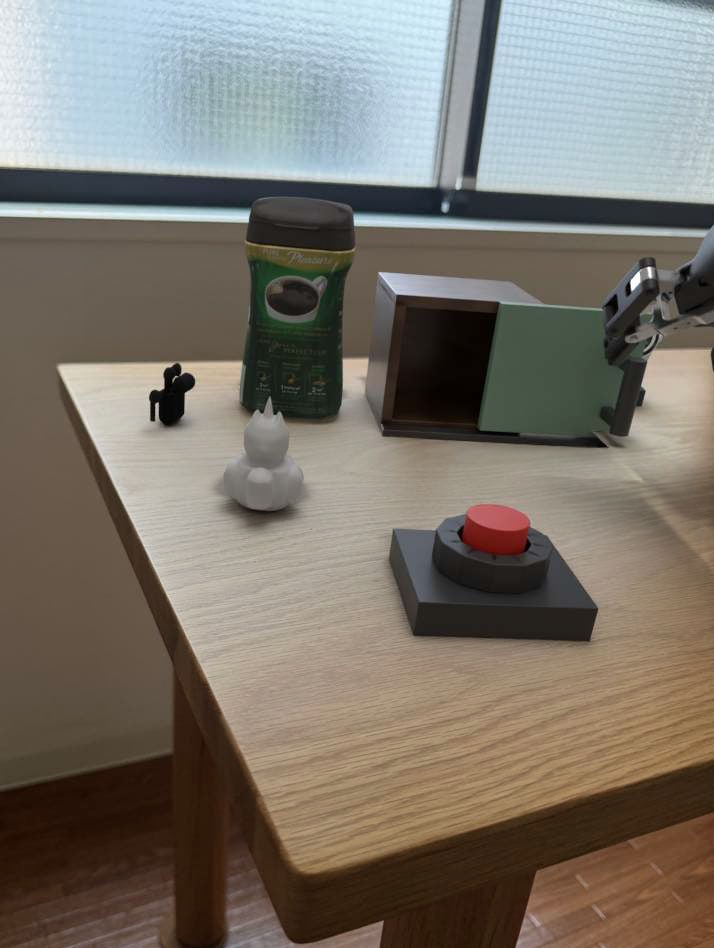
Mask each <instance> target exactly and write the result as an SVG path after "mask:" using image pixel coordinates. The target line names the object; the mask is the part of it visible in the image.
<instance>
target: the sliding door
mask: <svg viewBox="0 0 714 948" xmlns="http://www.w3.org/2000/svg"><path fill="white" fill-rule="evenodd" d="M544 304H545V303H544ZM544 304H529V303H515V302H501V301H500V303H499V308H498V314H497V319H496V325H495V331H494V336H493V342H492V348H491V353H490V359H489V364H488V370H487V376H486V381H485V387H484V392H483V398H482V404H481V409H480V415H479V421H478V426H477V427H478V428H479V430H480V431H497V432H515V433H533V434H551V435H569V436H587V437H598V435H597V434H595V433H594V432H603V433H604V432H605V433H609V434H610V435H612V436H615V437H620V438H626V437H629V434H630V431H631V426H632V424H633V423H632V422H633V420H634V415H635V412H636V407H637V406H636V404H637V400H638V396H639V392H640V389H641V387H642V385H643V381H644V377H645V373H646V370H647V365H648V361H649V360H648V361H647V360H645V359H642V356H643V352H644V348H645V344H646V341H647V338H646V339H644V340H641V341H639V345H638V346H637V347H636V348H635V349H634V350H633V351H632V352H631V354H630V355H629V356H628V357H627V358H626V359H625V360H624V361H623V363H622V364H621V365H620V366H609V365H608V359H605V354H604V345H603V341H604V338H605V337H606V335H605V329H604V320H603V310H602V308H599V307H598V308H597V307H585V306H584V307H583V306H571V305H570V306H569V305H555V304H545V305H544ZM652 317H653V313H652V312H651V313H647V314H644V315H642V316H640V319H641V325H643V324H645V323H648V322H650V321H651V320H652Z"/></svg>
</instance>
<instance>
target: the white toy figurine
mask: <svg viewBox="0 0 714 948" xmlns="http://www.w3.org/2000/svg"><path fill="white" fill-rule="evenodd" d="M252 414H253V415H252V416H251V418H250V420H249V422H248V423H247V424H246V426H245V427H244V432H243V433H244V434H243V448H244V451H243V452H242V453H241V454H240V455H238V456H236V457H234V458H231V460H230V461H229V463H228V464H227V465H226V468H225V470H224V471H223V487H224V492H225V493H226V495H227V497H228V498H230V499H231V500H235V501H236V502H237V503H238V504H240V505H241V506H243V507H244V508H247V509H250V510H254V511H262V512H263V511H264V512H275V511H280V510H283V509H285V508H287V506H292V505H294V504H295V503H297V502H298V500H299V499H300V497H301V495H302V494H301V493H302V488H303V484H304V480H305V479H304V478H305V477H304V476H305V475H304V473H303V470H302V468H301V467H300V465H298V464H297V463H296V462H295V461H294V460H293V457H292V456H291V455H289V454H287V453H288V451H289V447H290V436H291V434H290V433H291V432H290V429H289V427H288V425H287V424H286V422H285V418H283V416H282V414H281V412H278V413H277V415H273V408H272V402H271V398H270V397H269V399H268V401H267V404H266V407H265V410H264V413H263V414H261V413H260V411H259V410H256V411H255V413H252Z"/></svg>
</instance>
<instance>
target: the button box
mask: <svg viewBox="0 0 714 948" xmlns="http://www.w3.org/2000/svg"><path fill="white" fill-rule="evenodd" d="M465 518H466V513H463V514H459V515H455V516H451V517H446V518H445V519H444V520H443V521H442V522H441V523H440V524H439V526H438V527H437V528H436V529H415V528H414V529H413V528H392V531H391V532H392V533H391V540H390V547H389V554H388V561H389V563H390V567H391V570H392V573H393V576H394V579H395V583H396V585H397V588H398V592H399V595H400V598H401V601H402V604H403V607H404V610H405V613H406V616H407V620H408V623H409V627H410V630H411V633H412V636H414V637H435V638H436V637H439V638H464V639H465V638H466V639H468V638H469V639H471V638H472V639H495V640H496V639H497V640H498V639H500V640H502V639H503V640H528V641H529V640H533V641H562V642H564V641H565V642H591V638H592V634H593V631H594V627H595V623H596V621H597V620H596V619H597V616H598V613H599V607H598V606H597V604H596V603H595V601H594V600H593V599H592V596H591V595H590V594H589V593H588V591H587V590H586V589H585V587H584V586H583V584H582V583H581V581H580V580H579V578H578V577H577V576H576V574H575V572H574V571H573V570H572V568H571V567H570V566H569V565H568V563H567V562H566V560H565V559H564V557H563V556H562V555H561V553H560V552H559V550H558V549H557V548H556V546H555V545H554V543H553V542H552V540H551V539H550V538H549V536H548V535H547V534H544V533H543V532H541V531H539V530H537V529H535V528H534V527H532V526H530V527H529V532H528V536H527V541H526V545H525V550H524V552H523V553H521V554H517V555H514V556H509V555H493V554H489V553H485V552H482V551H478V550H475V549H473V548H471V547H470V546H468V545H466V544H465V543H463V542H462V535H463V530H464V524H465Z"/></svg>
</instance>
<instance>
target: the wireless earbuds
mask: <svg viewBox="0 0 714 948" xmlns="http://www.w3.org/2000/svg"><path fill="white" fill-rule="evenodd" d="M182 371H183V369H182V365H181V364H180V363H179V362H176V363H173V364H172V366H167V367H166V368H165V369H164V371H163V373H162V377H163V382H164V383H163V388H162V389H160V390H158V389H152V390H151V391H150V393H149V395H148V401H149V421H150V422H151V423H155V422H156V404H158V420H159V422H160V423H161V424H163V425H165V426H170V425H172V424H174V423H176V422H178V421H179V420H180V419H181V418H183V417H184V415H185V412H186V411H185V408H186V407H185V406H186V393H188V392H189V391H191V390H192V389H194V388H195V386H196V378H195V376H194V375H193V374H192V373H189V372H184V373H182Z"/></svg>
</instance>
